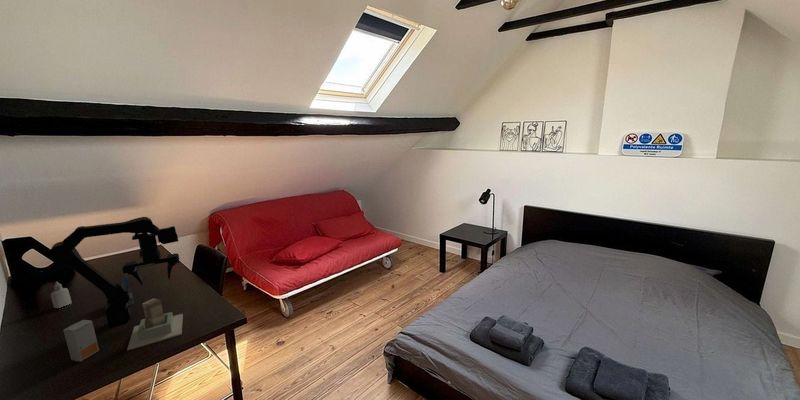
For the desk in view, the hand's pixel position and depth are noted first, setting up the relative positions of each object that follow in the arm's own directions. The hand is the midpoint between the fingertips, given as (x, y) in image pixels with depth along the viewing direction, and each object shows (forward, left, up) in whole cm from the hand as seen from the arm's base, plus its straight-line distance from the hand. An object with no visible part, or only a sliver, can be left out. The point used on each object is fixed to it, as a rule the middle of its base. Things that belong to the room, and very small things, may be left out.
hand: (156, 281), depth 138 cm
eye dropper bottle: (-38, +28, -13) cm, 49 cm away
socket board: (0, -19, -13) cm, 23 cm away
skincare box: (-20, -22, -13) cm, 33 cm away
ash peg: (0, -19, -12) cm, 23 cm away
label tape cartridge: (-14, +16, -13) cm, 25 cm away
